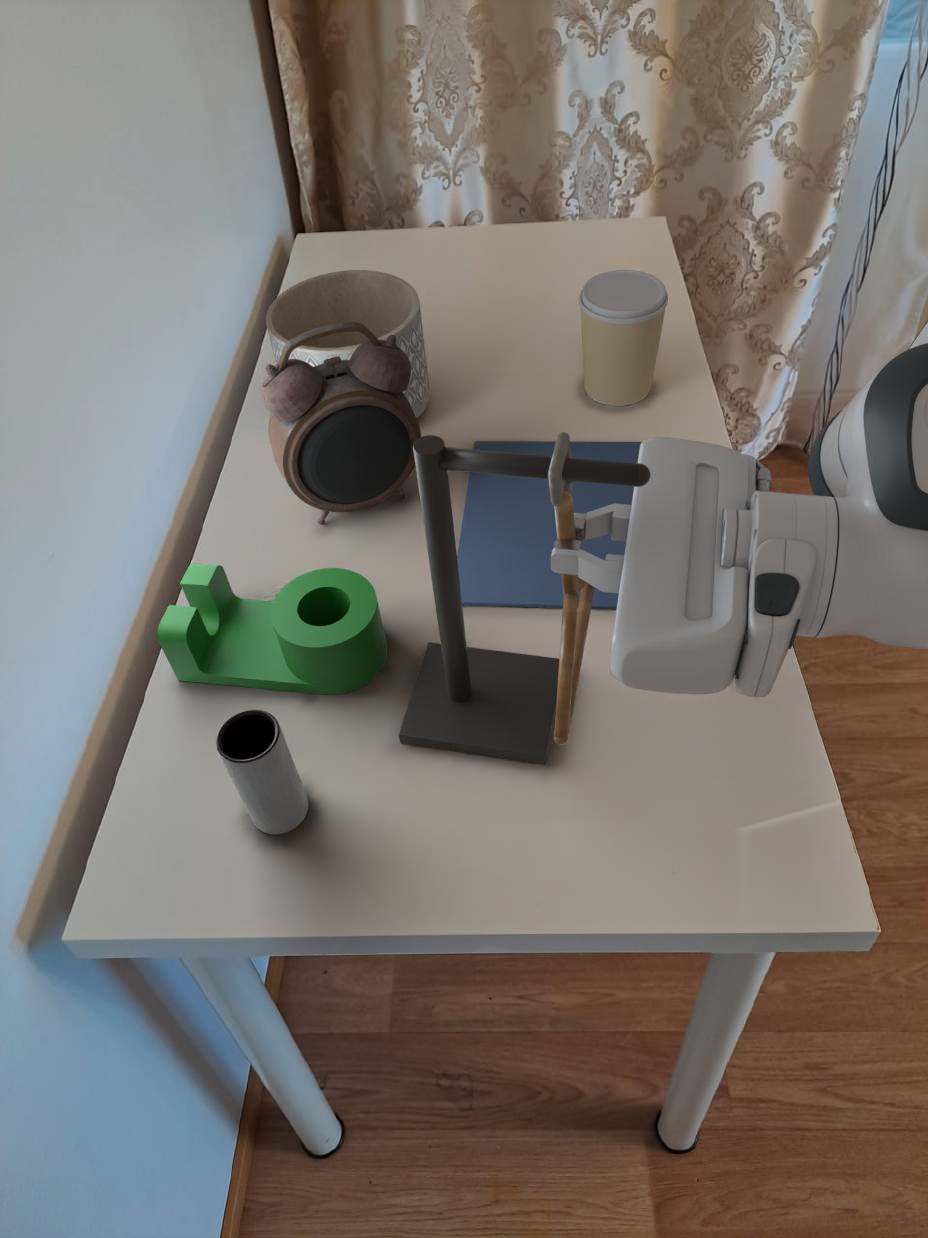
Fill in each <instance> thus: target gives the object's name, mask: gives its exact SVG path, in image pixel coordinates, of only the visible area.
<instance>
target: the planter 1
mask: <svg viewBox="0 0 928 1238" xmlns="http://www.w3.org/2000/svg"><path fill="white" fill-rule="evenodd" d="M282 730H283V729H282V728H281V726H280V723H279V721H278V720H277V718H276V717H275V716H274V715H273V714H271V712H268V711H265V710H262V709H247V710H243V711H239V712H237V713H235V714H233V715H231V716H230V717H229V718H228V719H226V720H225V721H224V722H223V723H222V725H221V726H220V728H219V729H218V731H217V733H216V737H215V748H216V750H217V753H218V755H219V757H220V759H221V762H222V763H223V765H224V767H225V769H226V771H227V773H228V775H229V777H230V779H231V782H232V783H233V786H234V787H235V789H236V791H237V793H238V795H239V798H240V799H241V801H242V803H243V805H244V807H245V810H246V811H247V814H248V815H249V817H250V819H251V821H252V822H253V825H254V826H255V827H256V828H257V829H258V830H260V831H261V832H263V833H264V834H268V835H283V834H286V833H289V832H291V831H292V830H294V829H296V828H297V827H298V826H299V825H300V824H302V822H303V821H304V819H305V818H306V815H307V814H308V810H309V799H308V795H307V793H306V790H305V787H304V784H303V782H302V779H301V777H300V774H299V772H298V769H297V767H296V766H297V765H296V764H295V761H294V759H293V756H292V754H291V750H290V748H289V746H288V743H287V741H286V737H285V736H284V734H283V733H284V732H283V731H282Z"/></svg>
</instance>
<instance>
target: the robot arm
mask: <svg viewBox="0 0 928 1238" xmlns="http://www.w3.org/2000/svg"><path fill="white" fill-rule="evenodd" d="M641 442H642V443H641V445H640V450H639V457H638V463H640V464H644V465H646V466H647V467H648V468H649V470H650V479H649V481H648V483H647V484H645V485H644V486H641V487H634V492H633V499H632V505H626V504H611V505H608V506H605V507H602V508H599V509H596V510H593V511H590V512H587V514H583V513H574V521H575V533H576V540H568V541H567V540H565V539H558V538H557V540H556V541H554V545H553V549H552V554H551V570H552V571H553V572H555V573H561V574H570V575H578V577H579V578H581V579H582V580H584V581H585V582H587V583H589V584H590V585H592V586H593V587H595V588H597V589H598V590H600V591H601V592H608V593H618V594H619V596H618V603H617V609H615V618H614V625H613V632H612V638H611V647H610V657H609V673H610V675H611V676H612V677H613V678H614V679H616V680H617V681H618V682H620V683H621V684H622V685H623V686H625V687H627V688H630V689H634V690H640V691H647V692H655V693H663V694H665V693H666V694H678V695H679V694H680V695H699V696H701V695H712V694H717V693H719V692H722V691H724V690H725V689H727V688H728V687H729V686H731V684H732V683H733V686H734V687H733V688H734V689H735V691H736V692H737V693H738V694H740V695H742V696H746V697H750V698H765V697H767V696H768V695H770V694H771V691H772V689H773V688H774V685H775V682H776V681H777V678H778V676H779V673H780V671H781V668H782V665H783V663H784V661H785V659H786V656H787V654H788V652H789V650H791V649H792V648H793V645H794V643H795V640H796V638H797V637H806V638H813V639H825V638H831V637H839V636H854V637H859V638H864V639H868V640H870V641H873V642H875V643H878V644H880V645H883V646H884V645H885V646H889V647H895V648H904V649H905V648H906V649H917V650H927V651H928V320H927V321H926V322H925V323H924V325H923V327H922V328H921V330H920V331H919V333H918V334H917V335H916V336H915V339H914V340H913V341H912V343H911V344H910V346H909V347H908V349H906V350H905V351H902V352H900V354H898V355H896V356H895V357H893V358H891V360H889V361H888V362H887V363H886V364H884V365H883V366H881V368H880V369H879V370H878V371H877V372H875V373H874V375H872V376H871V377H870V378H869V380H868V381H866V383H865V384H863V386H862V387H861V388H860V390H858V392H857V393H856V394H855V395H854V397H853V398H852V399H851V400H850V401H849V402H848V403H847V405H845V407H844V408H842V409H841V410H839V411H838V412H837V413H836V414H834V416H833V417H832V418H830V420H829V421H827V422H826V424H825V425H823V427H822V428H821V429H820V431H819V432H818V434H817V435H816V437H815V439H814V441H813V443H812V446H811V448H810V452H809V456H808V463H807V473H808V474H807V475H808V481H809V485H810V489H811V491H812V494H800V493H788V492H776V491H772V485H773V475H772V472H771V470H770V469H769V468H767V467H765V465H764V464H762V463H761V462H760V461H759V460H757V459H756V457H755V456H754V455H750V454H746V453H741V452H740V451H738V450H737V449H733V448H731V447H728V446H724V445H720V444H715V443H710V442H705V441H700V440H699V441H698V440H692V439H686V438H678V437H671V436H655V437H651V438H649V439H646V440H645V441H641ZM609 534H611V540H614V541H624V542H626V547H625V554H624V555H613V554H607V555H606V559H605V560H603V559H600V558H598V557H596V556H594V555H592V554H590V553H588V552H586V551H584V550H581V548H583V544H584V540H587V539H591V538H596V537H600V536H605V535H609Z"/></svg>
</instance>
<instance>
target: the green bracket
mask: <svg viewBox="0 0 928 1238" xmlns="http://www.w3.org/2000/svg"><path fill="white" fill-rule="evenodd" d="M227 576H228V575H227V573H226V571H225V569H224V567H223V566H222V565H220V564H205V563H190V564H189V565H188V567H187V569H186V571H185V573H184V575H183V576H182V578H181V581H180V583H179V585H180V586H181V589H182V591H183V593H184V595H185V598H186V601H187V602H188V605H189V606H185V605H174V604H173V605H172V604H168V605H167V608H166V610H165V612H164V614H163V616H162V618H161V620H160V622H159V624H158V627H157V641H158V643H159V645H160V647H161V650H162V652H163V654H164V656H165V657H166V659H167V661H168V663H169V665H170V668H171V669H172V671H173V674H174V676H175V677H176V679H177V681H181V682H191V683H200V684H201V683H202V684H209V685H210V684H212V685H222V686H231V687H232V686H233V687H242V688H251V689H263V690H272V691H273V690H274V691H284V692H295V693H304V694H315V695H324V696H334V695H342V694H346V693H350V692H353V691H356V690H357V689H360V688H361V687H363V686H364V687H365V685H366V684H369V682H371V681H372V680H374V678H375V677H376V676H377V675H378V674H379V673H380V672H381V670H382V669H383V667H384V665H385V662H386V660H387V656H388V644H387V639H386V634H385V629H384V625H383V620H382V615H381V611H380V610H381V609H380V607H379V602H378V597H377V592H376V589H375V588H374V586H373V584H372V583H371V582H370V581H369V579H367V578H366V577H365V576H363V575H362V574H360V573H359V572H356V571H353V570H350V569H346V568H340V567H325V568H318V569H314V570H311V571H308V572H305V573H303V574H300V575H298V576H296V577H294V578H293V579H291V580H290V581H289V582H288V583H286V584H285V585H284V586H283V587H282V588H281V589H280V590H279V591H278V593H277V594H276V596H275V597H274V599H273V600H259V599H246V598H241V597H239V596H238V595H236V594H235V593H234V591H233V589H232V586H231V584H230V581H229V578H228V577H227Z"/></svg>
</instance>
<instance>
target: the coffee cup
mask: <svg viewBox="0 0 928 1238" xmlns="http://www.w3.org/2000/svg"><path fill="white" fill-rule="evenodd" d="M578 302H579V307H580V329H581V331H580V332H581V334H580V335H581V353H582V354H581V355H582V356H581V357H582V375H583V387H584V391H585V394H586V395H587V396H588V397H589V398H590V399H591V400H593V401H594V402H597V403H599V404H601V405H605V406H609V407H611V406H612V407H624V406H630V405H635V404H637V403H639V402H642V401H643V400H644V399H645V398H646V397H647V396H649V394H650V392H651V389H652V386H653V381H654V375H655V370H656V365H657V359H658V354H659V349H660V343H661V338H662V331H663V325H664V319H665V314H666V313H665V312H666V308H667V306H668V302H669V294H668V291H667V288H666V286H665V284H664V283H663V282H662V280H661V279H659V278H658V277H656V276H655V275H653V274H650V273H647V272H644V271H639V270H635V269H634V270H632V269H616V270H609V271H604V272H601V273H599V274H596V275H594V276H593V277H591V278H589V279H588V280H587V281H586V282H585V284H583V287H582V289H581V291H580V293H579V297H578Z"/></svg>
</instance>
